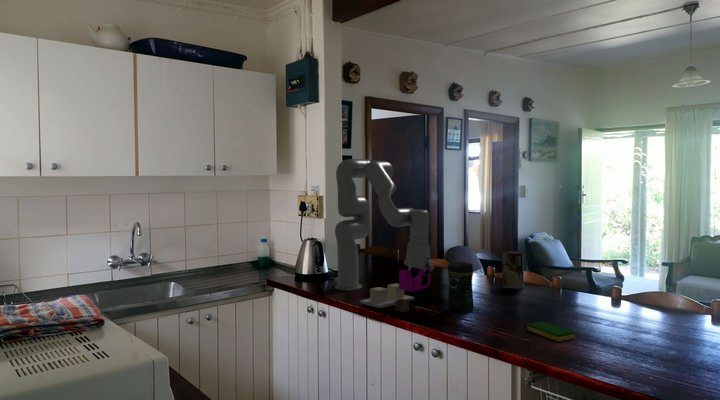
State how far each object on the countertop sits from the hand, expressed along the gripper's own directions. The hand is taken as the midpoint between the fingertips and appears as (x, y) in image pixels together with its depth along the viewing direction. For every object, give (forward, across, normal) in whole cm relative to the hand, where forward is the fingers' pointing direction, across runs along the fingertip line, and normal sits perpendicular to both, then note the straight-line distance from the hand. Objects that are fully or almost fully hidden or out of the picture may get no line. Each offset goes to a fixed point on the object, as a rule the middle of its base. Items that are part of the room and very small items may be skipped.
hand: (418, 282), depth 213 cm
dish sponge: (+6, +59, -2) cm, 60 cm away
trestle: (+8, -9, -9) cm, 15 cm away
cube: (+8, +5, -15) cm, 18 cm away
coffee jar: (+7, +20, +2) cm, 22 cm away
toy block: (+2, 0, 0) cm, 2 cm away
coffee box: (+7, +13, +50) cm, 52 cm away
